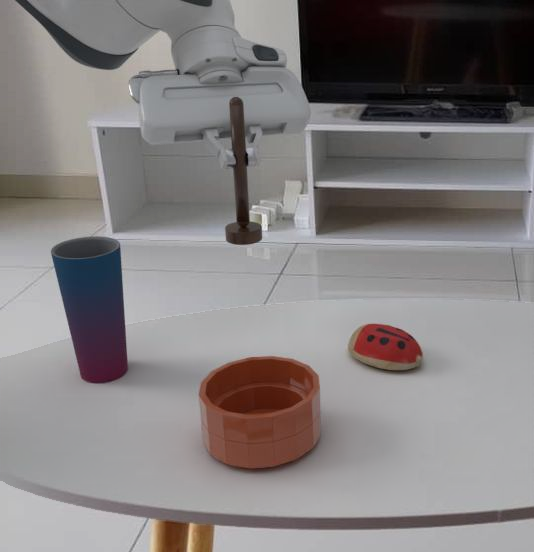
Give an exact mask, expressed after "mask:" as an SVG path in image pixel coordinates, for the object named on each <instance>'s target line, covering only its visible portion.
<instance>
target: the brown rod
mask: <svg viewBox="0 0 534 552" xmlns="http://www.w3.org/2000/svg"><path fill="white" fill-rule="evenodd" d="M229 109H230V125H231V139H230V140H231V149H232V150H233V152H234V155H233V156H234V157H235V159H236V164H235V165H234V166H235V167H234V168H232V172H233V173H232V175H233V189H234V190H233V191H234V203H235V204H234V206H235V218H236V219H235V222H231V223H227V225H226V226H225V227H224V233H225V234H224V235H225V241H226V242H227V243H229V244H231V245H236V246H249V245H254V244H257V243H259V242H261V241H262V240H263V226H262V224H260V223H259V222H256V221H251V217H250V215H251V214H250V198H249V197H250V196H249V182H248V181H249V180H248V167H247V160H246V148H247V145H246V143H247V142H246V141H247V140H246V138H245V123H244V105H243V101H242V99H241V98H239V97H233V98H232V99H231V100H230V102H229Z"/></svg>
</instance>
